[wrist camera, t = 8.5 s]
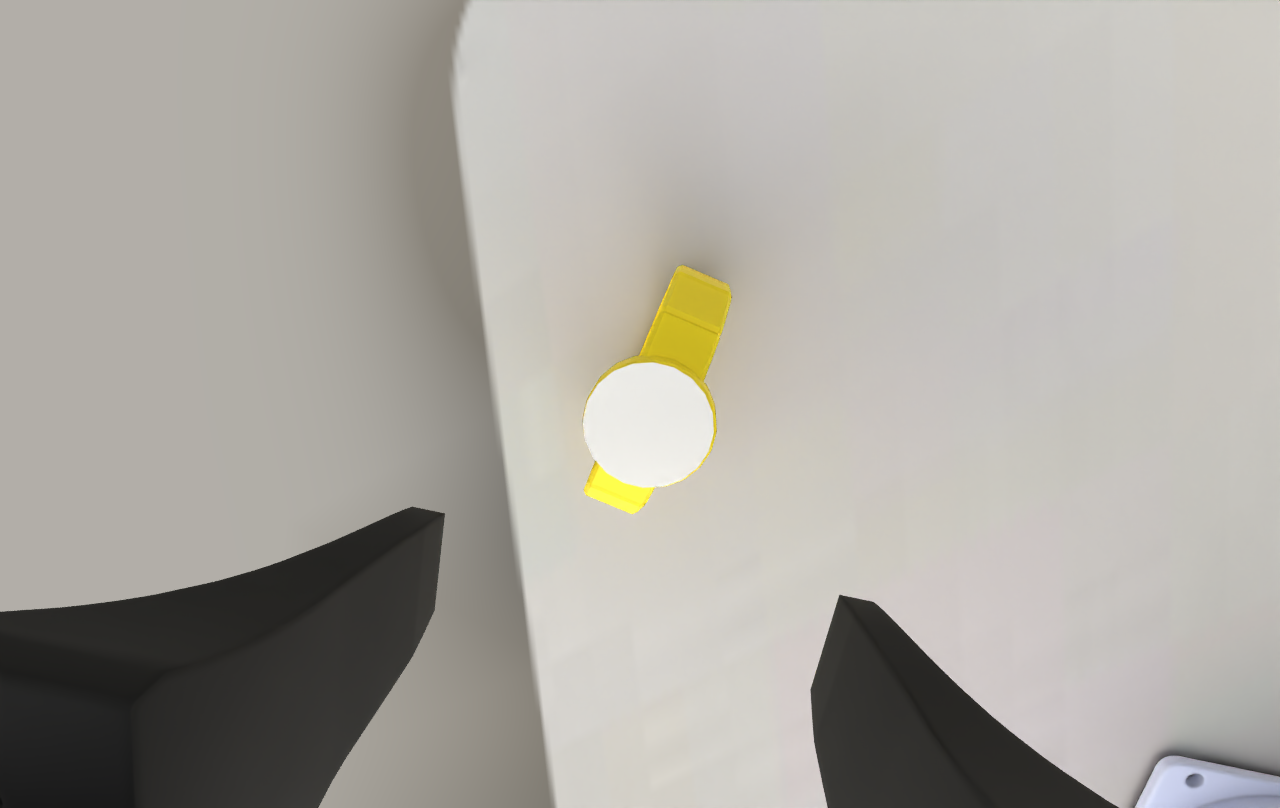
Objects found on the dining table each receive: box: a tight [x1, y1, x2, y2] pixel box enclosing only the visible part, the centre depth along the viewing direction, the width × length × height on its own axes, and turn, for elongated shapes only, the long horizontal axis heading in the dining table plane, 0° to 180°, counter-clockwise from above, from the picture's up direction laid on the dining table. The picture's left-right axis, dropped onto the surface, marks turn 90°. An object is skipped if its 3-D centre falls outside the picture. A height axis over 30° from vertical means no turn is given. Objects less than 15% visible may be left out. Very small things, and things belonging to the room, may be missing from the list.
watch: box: [583, 265, 732, 514], centre depth 18 cm, size 6×3×6 cm, turn 158°
